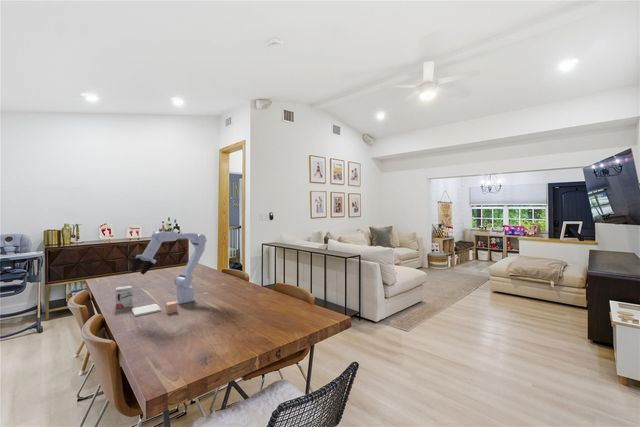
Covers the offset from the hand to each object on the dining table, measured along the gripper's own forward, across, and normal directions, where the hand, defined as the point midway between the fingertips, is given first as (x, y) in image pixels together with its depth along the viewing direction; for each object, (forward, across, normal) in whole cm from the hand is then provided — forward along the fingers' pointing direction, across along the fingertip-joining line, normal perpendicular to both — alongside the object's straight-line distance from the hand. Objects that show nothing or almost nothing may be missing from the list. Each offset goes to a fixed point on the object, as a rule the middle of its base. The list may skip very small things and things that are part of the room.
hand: (137, 272), depth 164 cm
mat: (+17, 0, +18) cm, 24 cm away
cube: (+13, +15, +21) cm, 29 cm away
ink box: (+19, -19, +19) cm, 33 cm away
